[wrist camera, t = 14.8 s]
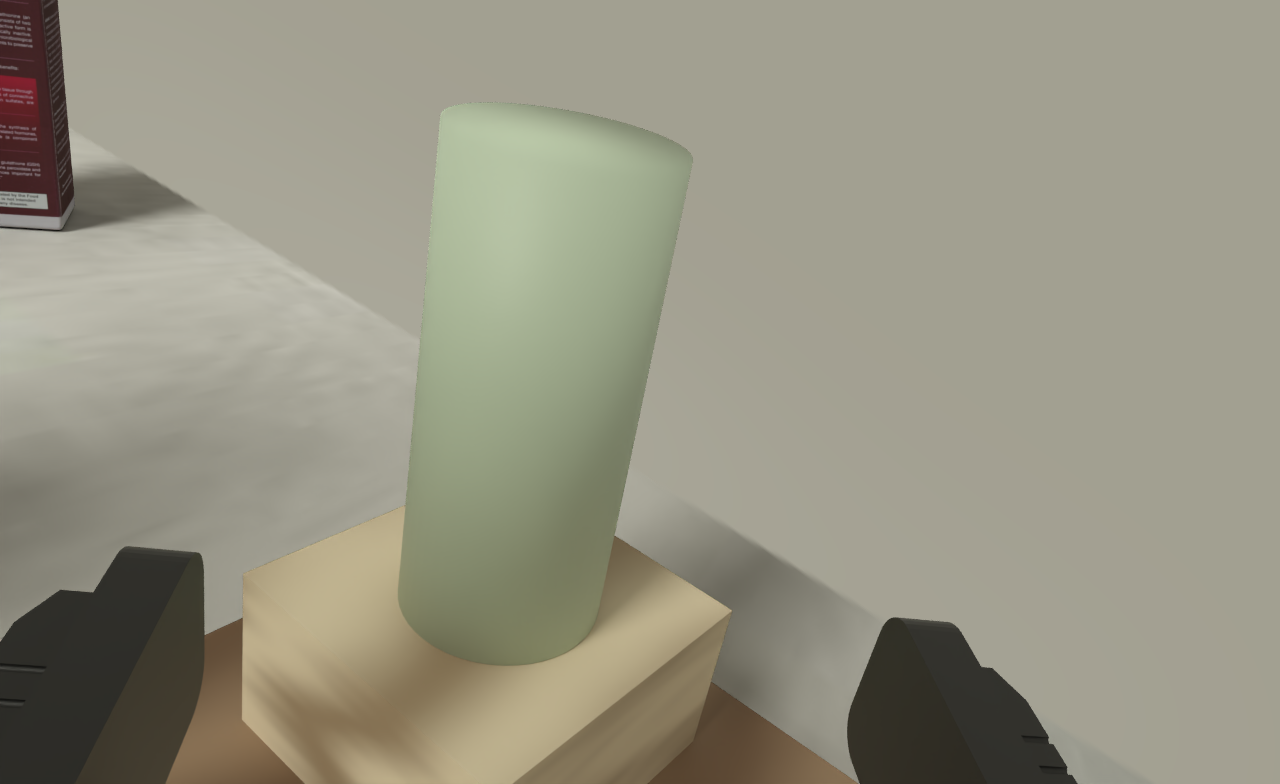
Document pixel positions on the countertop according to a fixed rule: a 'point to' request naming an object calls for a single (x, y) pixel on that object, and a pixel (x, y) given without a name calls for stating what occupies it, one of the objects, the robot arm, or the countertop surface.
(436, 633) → the sage cylinder
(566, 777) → the beech brick
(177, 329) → the countertop surface
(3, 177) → the supplement box
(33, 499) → the countertop surface
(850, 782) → the walnut board
